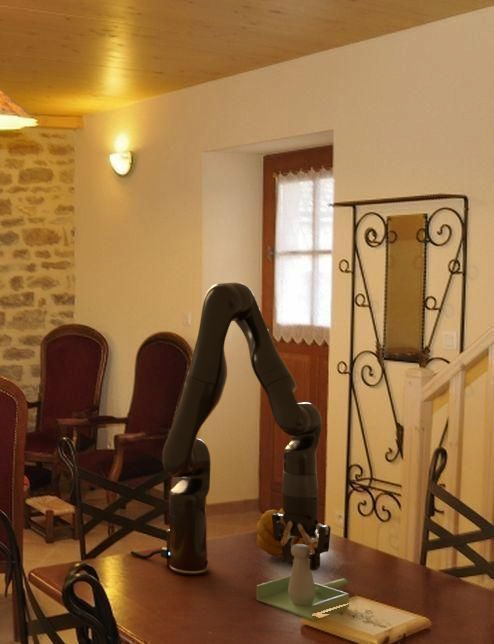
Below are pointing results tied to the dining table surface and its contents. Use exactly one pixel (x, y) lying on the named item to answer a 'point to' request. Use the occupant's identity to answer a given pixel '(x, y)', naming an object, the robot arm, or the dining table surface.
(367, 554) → the dining table surface
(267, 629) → the dining table surface
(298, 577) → the salt shaker
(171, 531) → the robot arm
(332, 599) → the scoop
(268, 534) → the pumpkin
